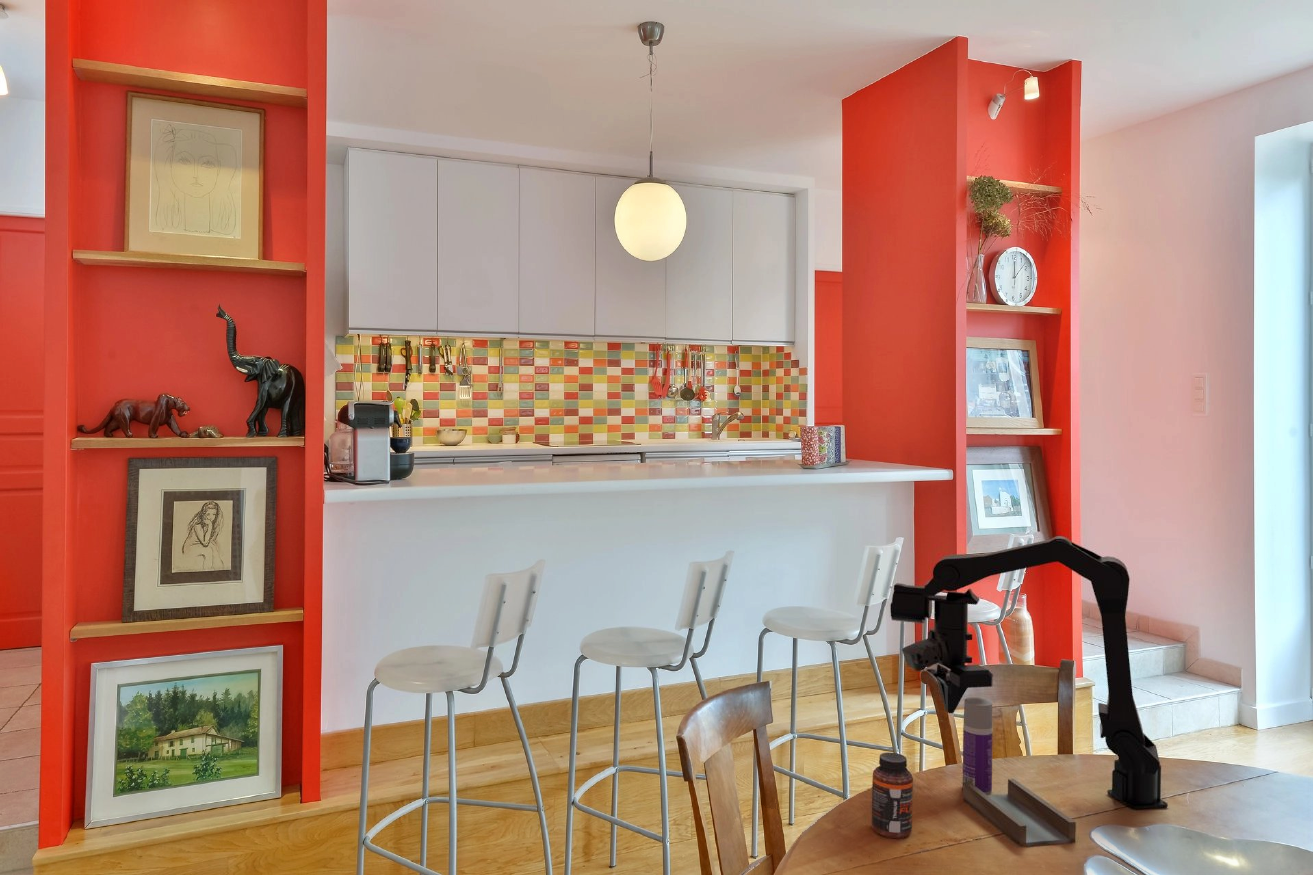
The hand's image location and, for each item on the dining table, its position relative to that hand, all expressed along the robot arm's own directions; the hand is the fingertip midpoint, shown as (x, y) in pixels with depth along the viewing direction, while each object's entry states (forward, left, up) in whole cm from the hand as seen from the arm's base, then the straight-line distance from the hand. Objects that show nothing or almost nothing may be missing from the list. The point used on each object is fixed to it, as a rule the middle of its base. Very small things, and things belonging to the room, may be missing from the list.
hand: (949, 712), depth 156 cm
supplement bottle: (+21, +21, -10) cm, 32 cm away
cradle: (0, +21, -10) cm, 23 cm away
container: (0, +9, -10) cm, 14 cm away
